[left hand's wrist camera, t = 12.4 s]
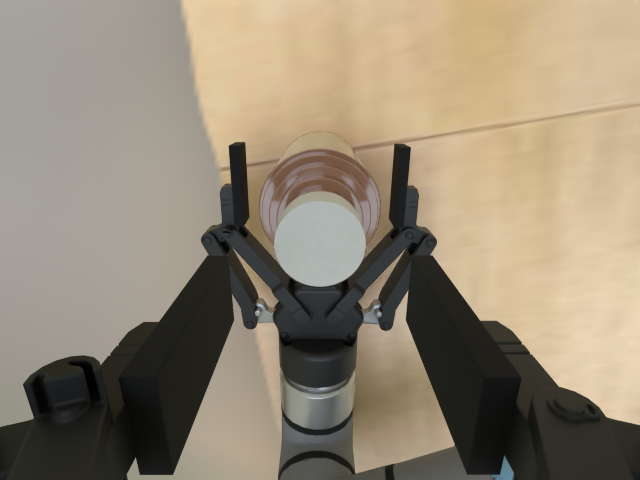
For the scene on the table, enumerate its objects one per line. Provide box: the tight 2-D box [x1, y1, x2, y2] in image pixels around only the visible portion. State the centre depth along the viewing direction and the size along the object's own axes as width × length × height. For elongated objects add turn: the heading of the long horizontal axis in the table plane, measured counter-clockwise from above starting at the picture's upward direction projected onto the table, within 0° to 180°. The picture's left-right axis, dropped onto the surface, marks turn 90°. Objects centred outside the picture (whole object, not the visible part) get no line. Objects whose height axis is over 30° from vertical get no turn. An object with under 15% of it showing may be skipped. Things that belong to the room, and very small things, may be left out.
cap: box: [274, 191, 366, 287], centre depth 19 cm, size 4×4×2 cm
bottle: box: [259, 132, 381, 245], centre depth 28 cm, size 8×8×20 cm
